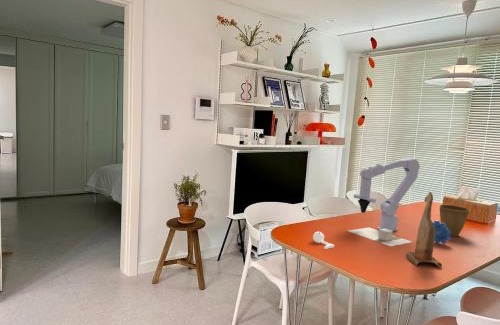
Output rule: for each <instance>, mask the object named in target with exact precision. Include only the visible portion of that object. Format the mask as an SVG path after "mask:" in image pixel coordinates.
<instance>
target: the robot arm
mask: <svg viewBox="0 0 500 325" xmlns="http://www.w3.org/2000/svg"><path fill="white" fill-rule="evenodd" d="M420 167H421V165H420V162H419V161H418V160H417V159H416V158H409V157H405V158H400V159H397V160H394V161H392V162H389V163H387V164H382V163H381V164H380V163H376V165H374V166H368V167H366V168H363V169H362V170H360V172H359V175H360V177H361V178H360V186H359V187H360V188H359V194H357V193H356V194H353V198H354V199H358V200H357V201H358V203H359V204H358V205H359V208H360V212H361V213H365V214H366V212H367V209H368V207H369V205H370V204H371V203H377V199H376V198H373V197H371V188H372V179H373V178H374V177H378V176H380V175H381V176H382V175H384V174H385V173H386V171H390V170H392V169H397V168H403V169H404V171H405V177H404V178H403V180H402V181H401V182H400V184H399V185H398V186H397V187H396V189H395V190H394V192H393V193H392V194H391V196H390V197H389V198H387V199H386V200H385V201H384V202H382V203H381V204H380V210H381V214H380V224H379V225H380V226H378V227H376V228H377V230H379V229H384V228H386V229H389V230H392V231H393V232H394V231H395V232H396V231H399V229H398V221H399V219H398V216H397V215H396V214H397V212H398V209H399V207H400V202H401V201H402V199H403V197H405V195H406V193H407V192H408V191H409V189H410V188H411V187H412V186H413V184H414V183H415V182H416V180H417V179H418V175H419V169H420Z"/></svg>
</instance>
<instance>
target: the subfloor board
mask: <svg viewBox="0 0 500 325" xmlns="http://www.w3.org/2000/svg"><path fill="white" fill-rule="evenodd" d="M348 232H350V233H352V234H356V235H357V236H361V237H362V238H366V239H369V240H371V241H374V242H377V243H380V244H383V245H385V246H388V247H395V246H401V245H405V244H410V243H412V241H411V240H408V239H405V238H401V237H400V236H399V237H398V236H396V235H392V240H389V241H384V240H381V239H379V238H378V234H379V229H374V228H372V227H363V228H357V229H348Z"/></svg>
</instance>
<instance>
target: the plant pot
mask: <svg viewBox="0 0 500 325" xmlns="http://www.w3.org/2000/svg"><path fill="white" fill-rule="evenodd" d="M469 213H470V209H469V208H466V207H464V206H459V205H453V204H439V217H440V224H441V223H445V224H446V225H447V228H448V229H450V231H451V234H449V235H450V237H459V235H460V234H461V232H462V230H463V229H464V226H465V224H466V221H467V220H468V217H469Z"/></svg>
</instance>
